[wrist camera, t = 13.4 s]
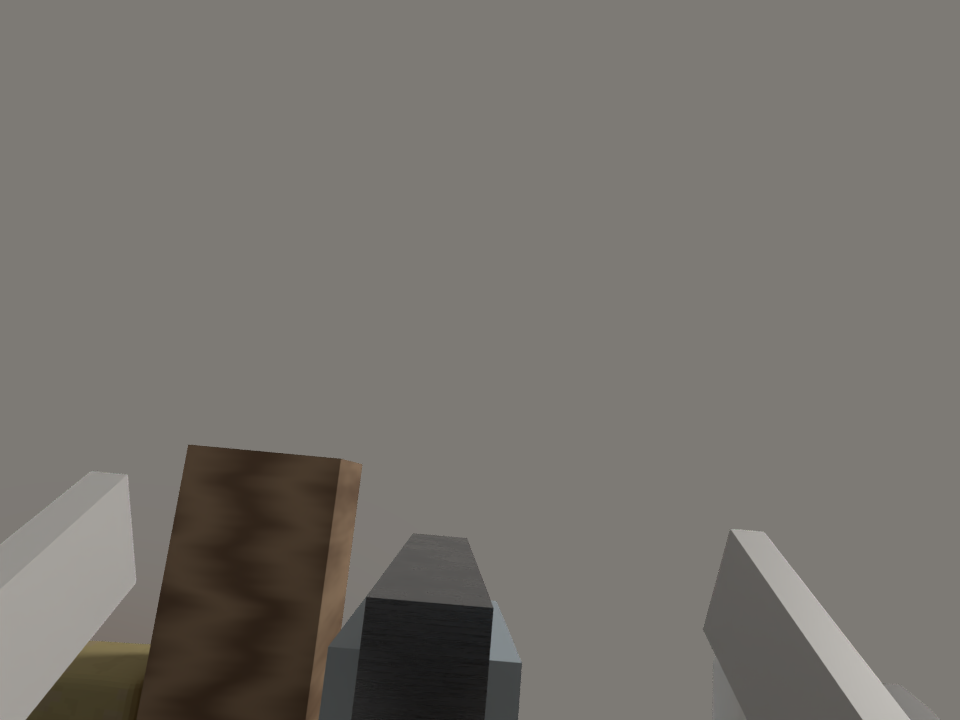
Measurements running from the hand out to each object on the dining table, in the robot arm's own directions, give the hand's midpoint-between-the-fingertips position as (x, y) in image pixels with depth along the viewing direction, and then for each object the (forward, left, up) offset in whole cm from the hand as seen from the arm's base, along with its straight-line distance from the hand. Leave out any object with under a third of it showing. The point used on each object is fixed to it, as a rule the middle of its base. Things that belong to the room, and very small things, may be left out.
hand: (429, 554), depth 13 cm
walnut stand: (-12, +32, -27) cm, 44 cm away
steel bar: (0, +16, -5) cm, 17 cm away
